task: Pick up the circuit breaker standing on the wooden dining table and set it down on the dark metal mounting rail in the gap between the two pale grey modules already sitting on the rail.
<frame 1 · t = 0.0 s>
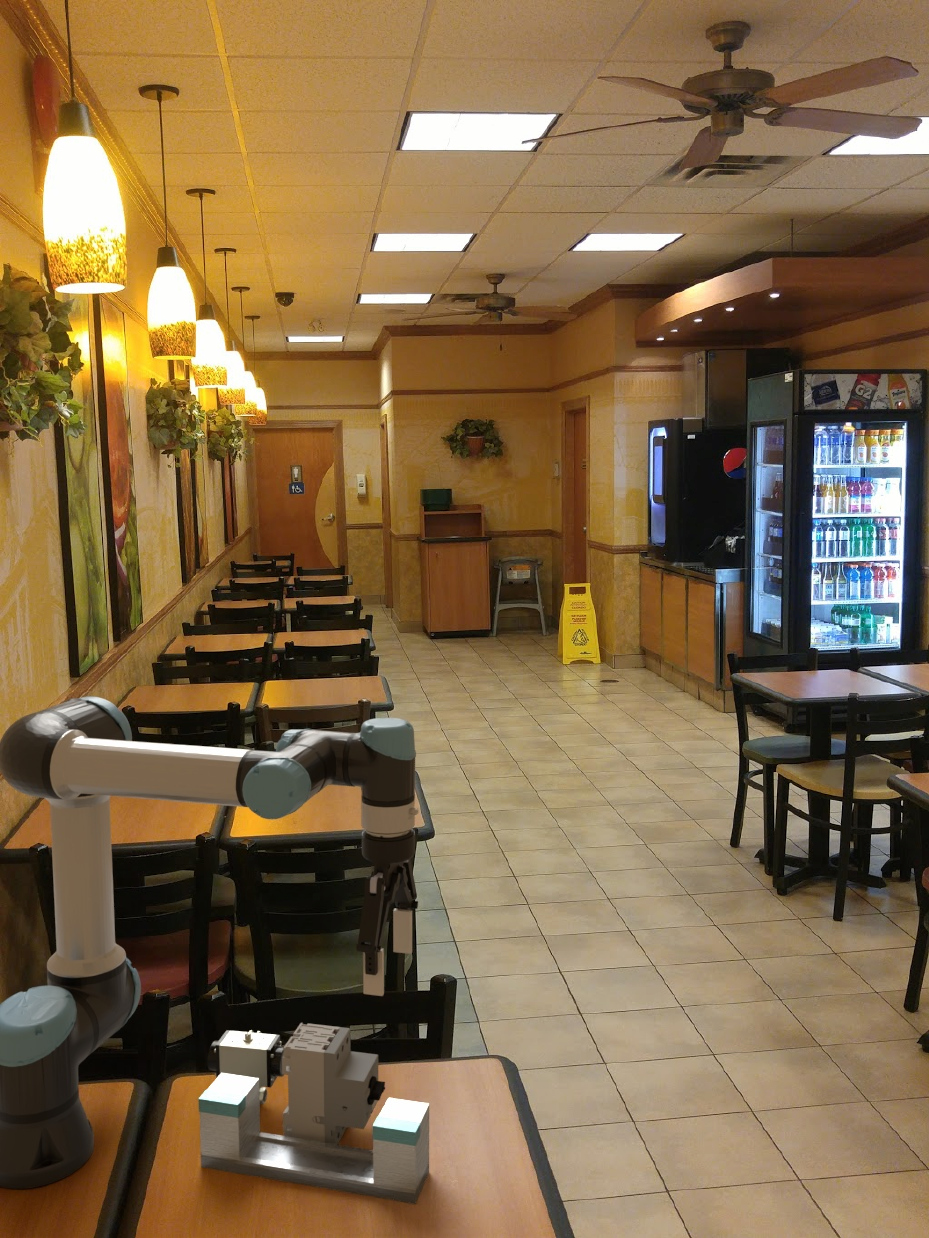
hand: (388, 972, 155), 28 cm above the table, fingers open, 13 cm apart
circuit breaker: (336, 1134, 164), on the table
rail with modules: (314, 1169, 155), on the table
pneumatic valve: (250, 1104, 171), on the table
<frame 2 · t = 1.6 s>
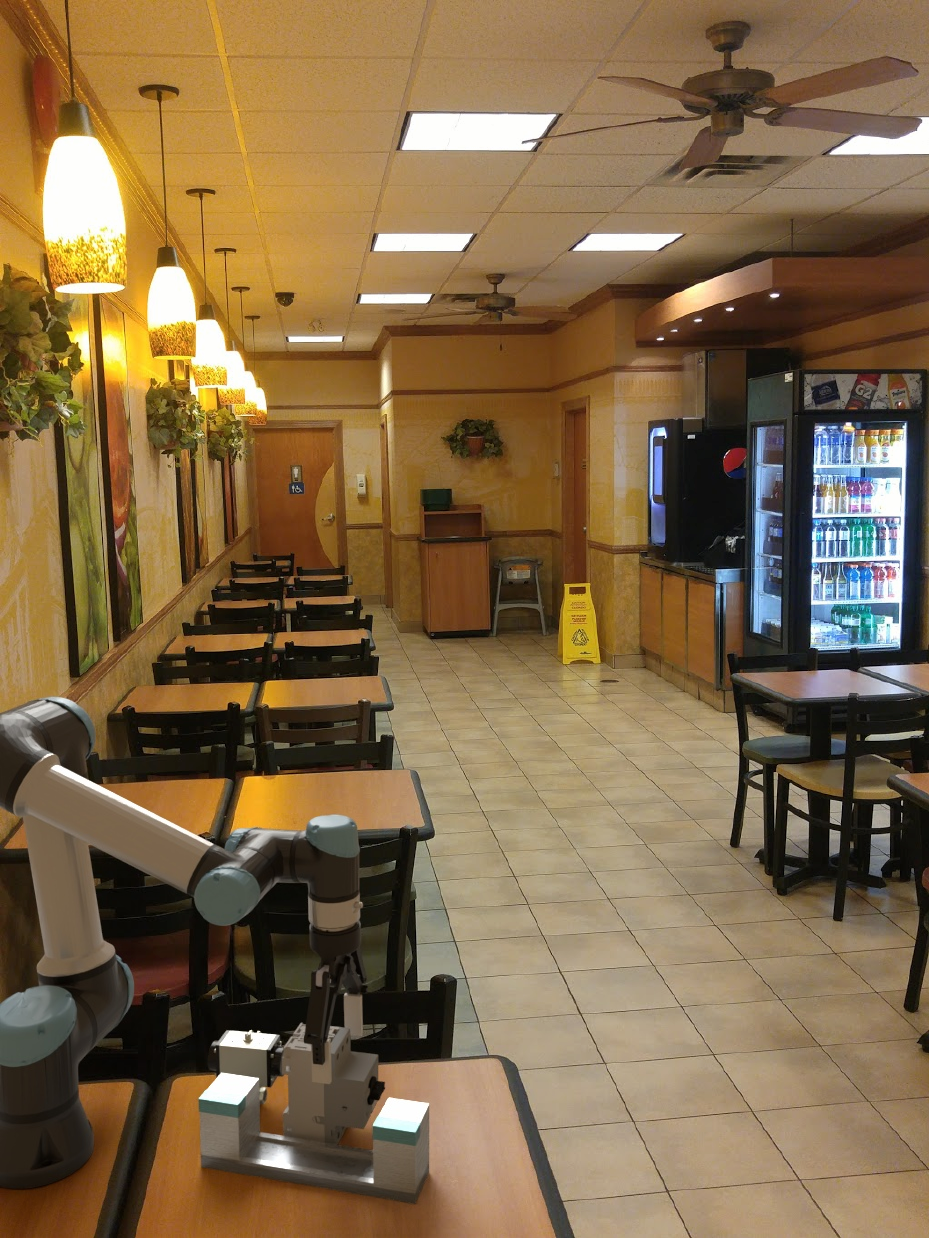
hand: (338, 1057, 162), 12 cm above the table, fingers open, 13 cm apart
nothing on the table moved.
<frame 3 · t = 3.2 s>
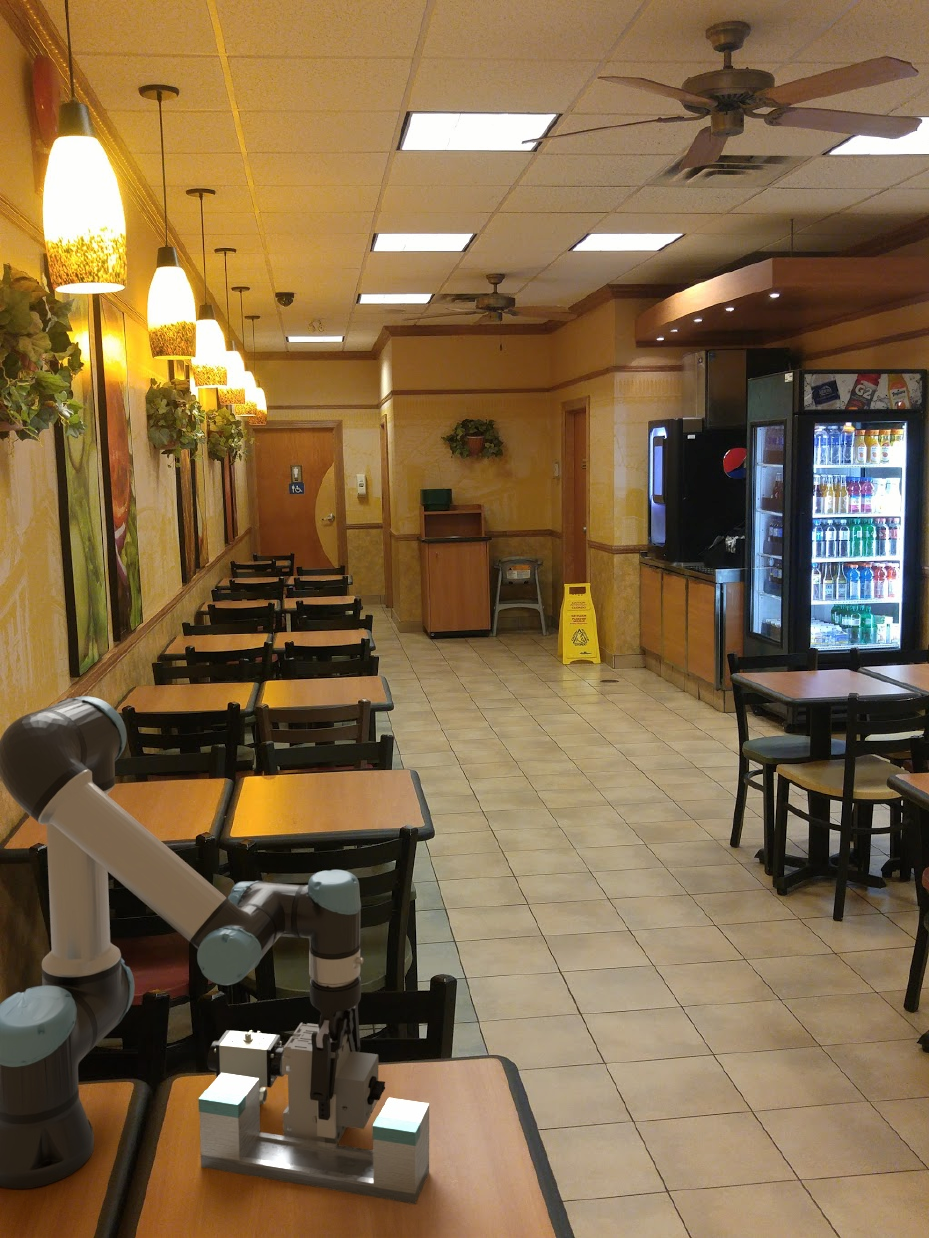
hand: (336, 1119, 164), 2 cm above the table, fingers closed on circuit breaker, 8 cm apart
circuit breaker: (336, 1134, 164), on the table, touching gripper
everything else where it was.
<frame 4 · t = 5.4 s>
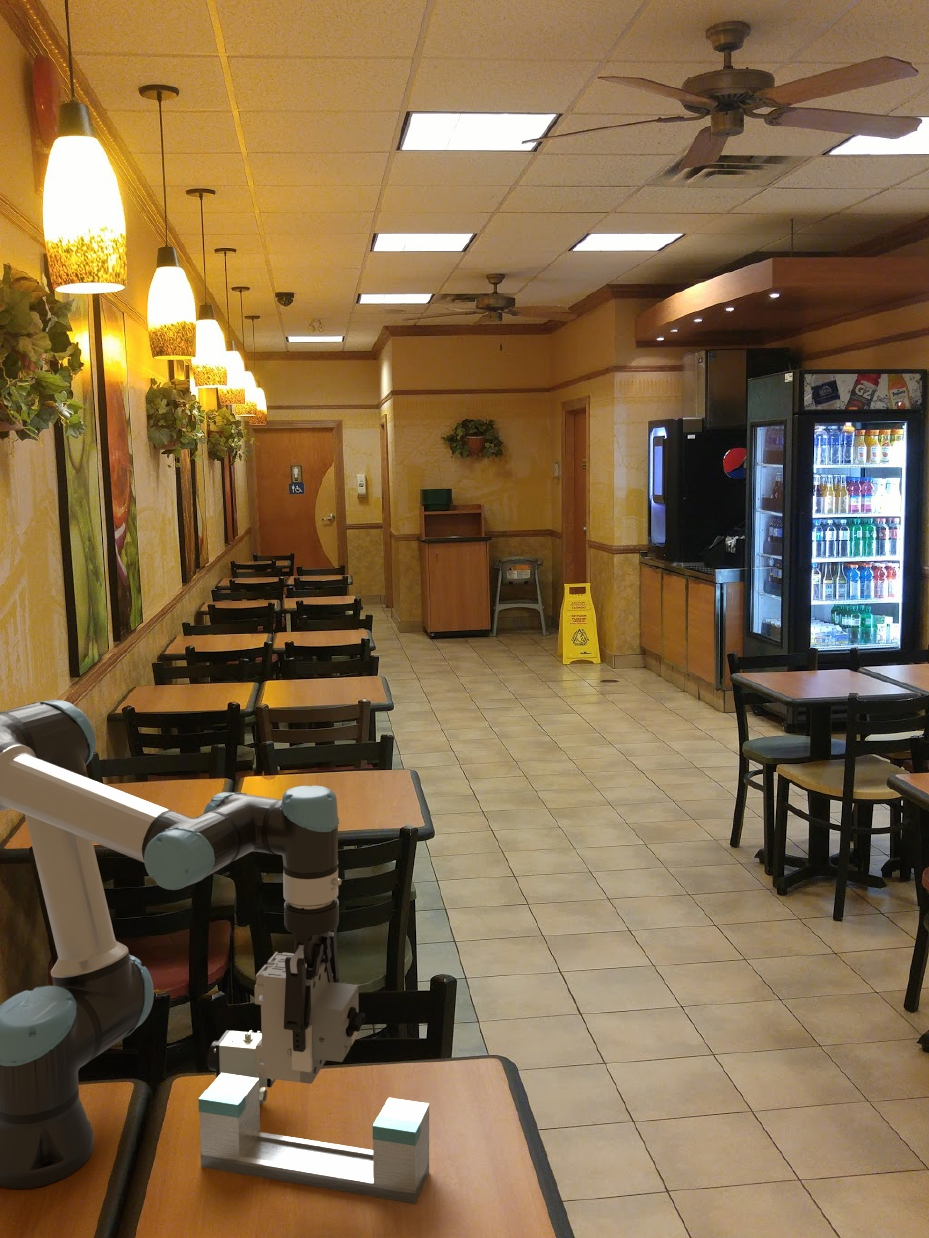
hand: (313, 1053, 153), 18 cm above the table, fingers closed on circuit breaker, 8 cm apart
circuit breaker: (314, 1069, 153), point 15 cm above the table, touching gripper
everything else where it was.
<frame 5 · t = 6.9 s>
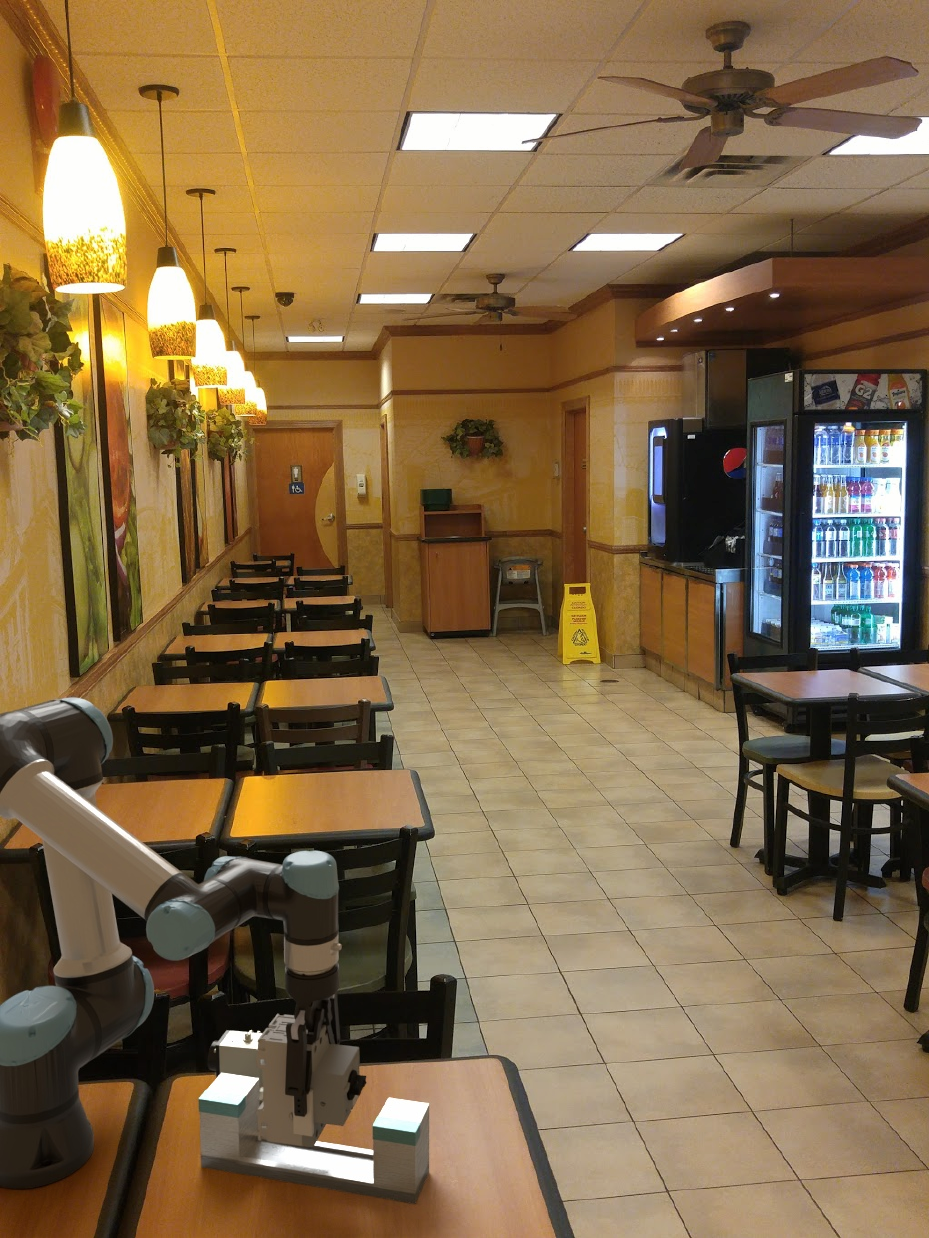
hand: (314, 1116, 154), 8 cm above the table, fingers closed on circuit breaker, 8 cm apart
circuit breaker: (315, 1131, 154), point 6 cm above the table, touching gripper
everything else where it was.
when the fingers open (5 cm above the table, at t = 8.0 s): circuit breaker stays where it is, resting on rail with modules.
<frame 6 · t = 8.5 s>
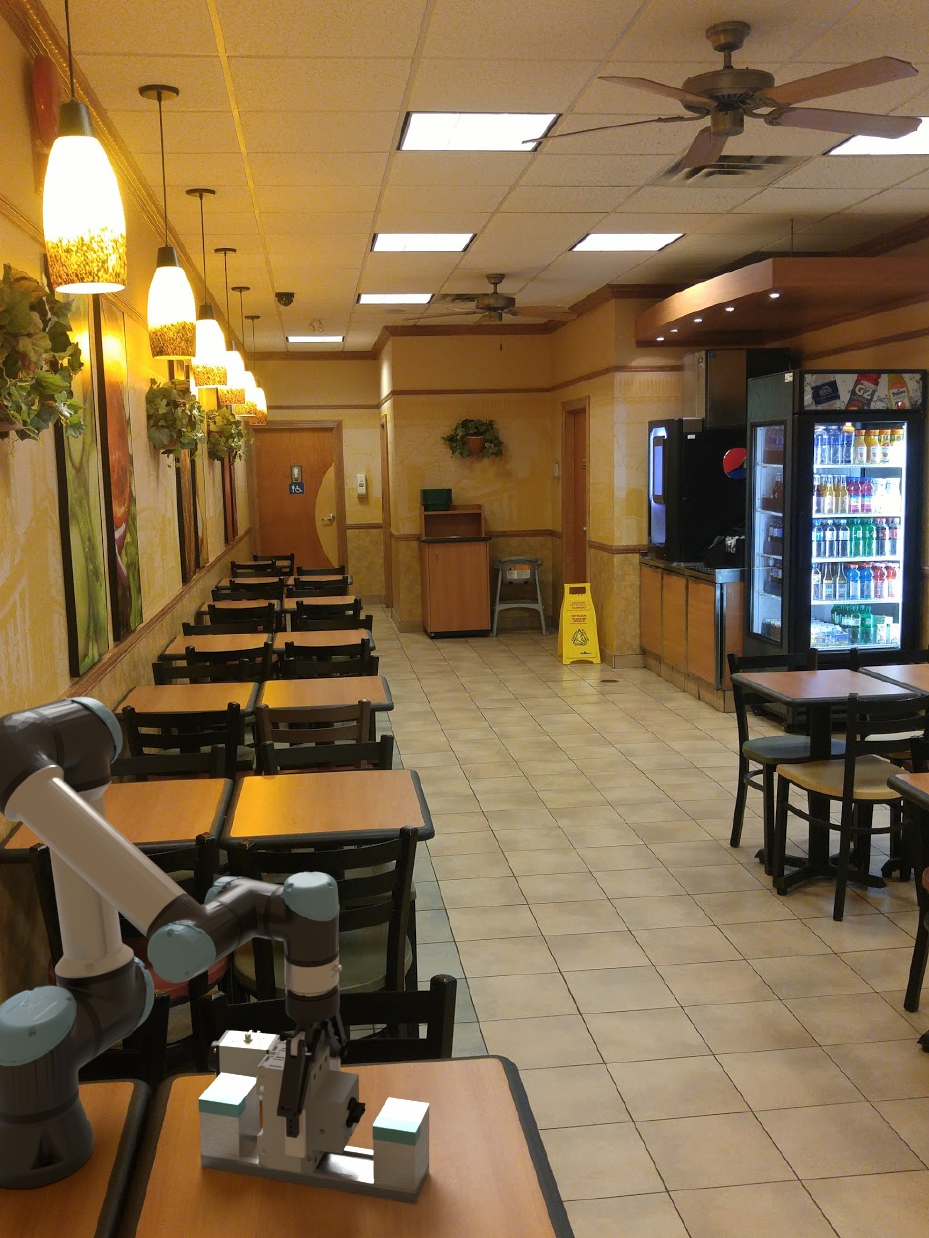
hand: (314, 1126, 154), 7 cm above the table, fingers open, 13 cm apart
circuit breaker: (314, 1158, 155), point 2 cm above the table, touching rail with modules
everything else where it was.
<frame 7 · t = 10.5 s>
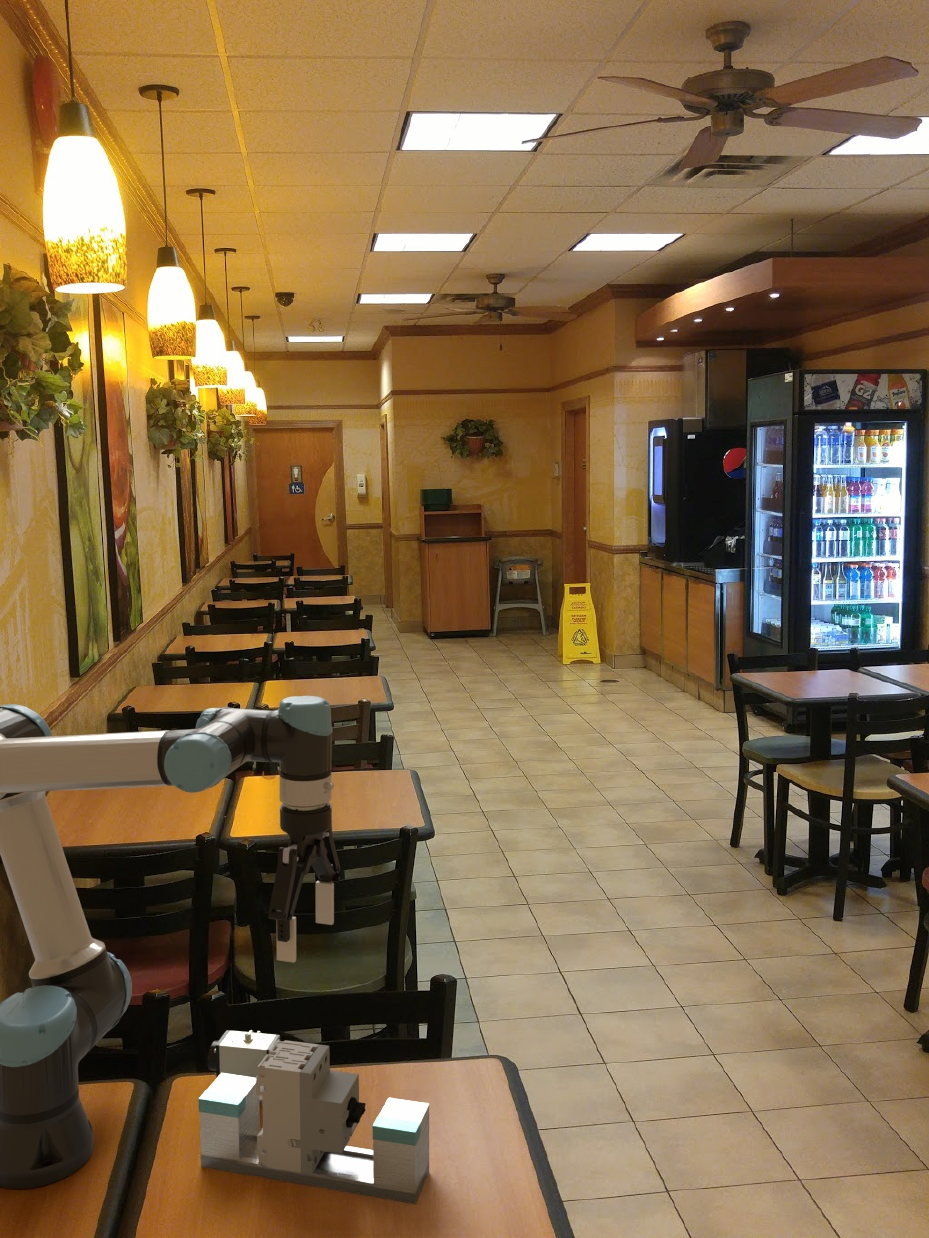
hand: (306, 941, 161), 30 cm above the table, fingers open, 13 cm apart
nothing on the table moved.
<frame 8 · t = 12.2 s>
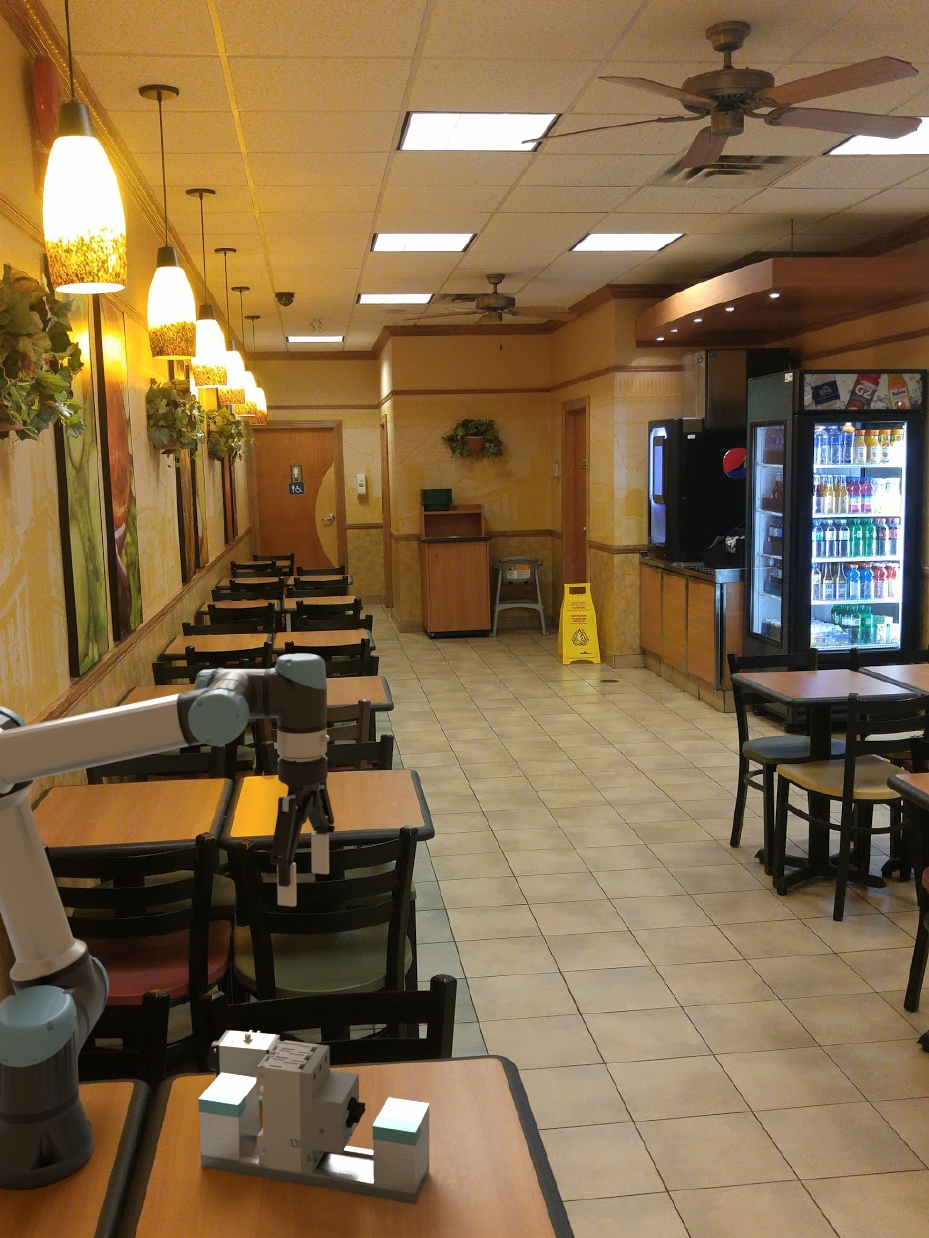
hand: (304, 888, 169), 35 cm above the table, fingers open, 13 cm apart
nothing on the table moved.
at the end: circuit breaker inside the target area (0.0 cm from its centre), point 1.8 cm above the table; circuit breaker tilted 0°; circuit breaker touching rail with modules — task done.
